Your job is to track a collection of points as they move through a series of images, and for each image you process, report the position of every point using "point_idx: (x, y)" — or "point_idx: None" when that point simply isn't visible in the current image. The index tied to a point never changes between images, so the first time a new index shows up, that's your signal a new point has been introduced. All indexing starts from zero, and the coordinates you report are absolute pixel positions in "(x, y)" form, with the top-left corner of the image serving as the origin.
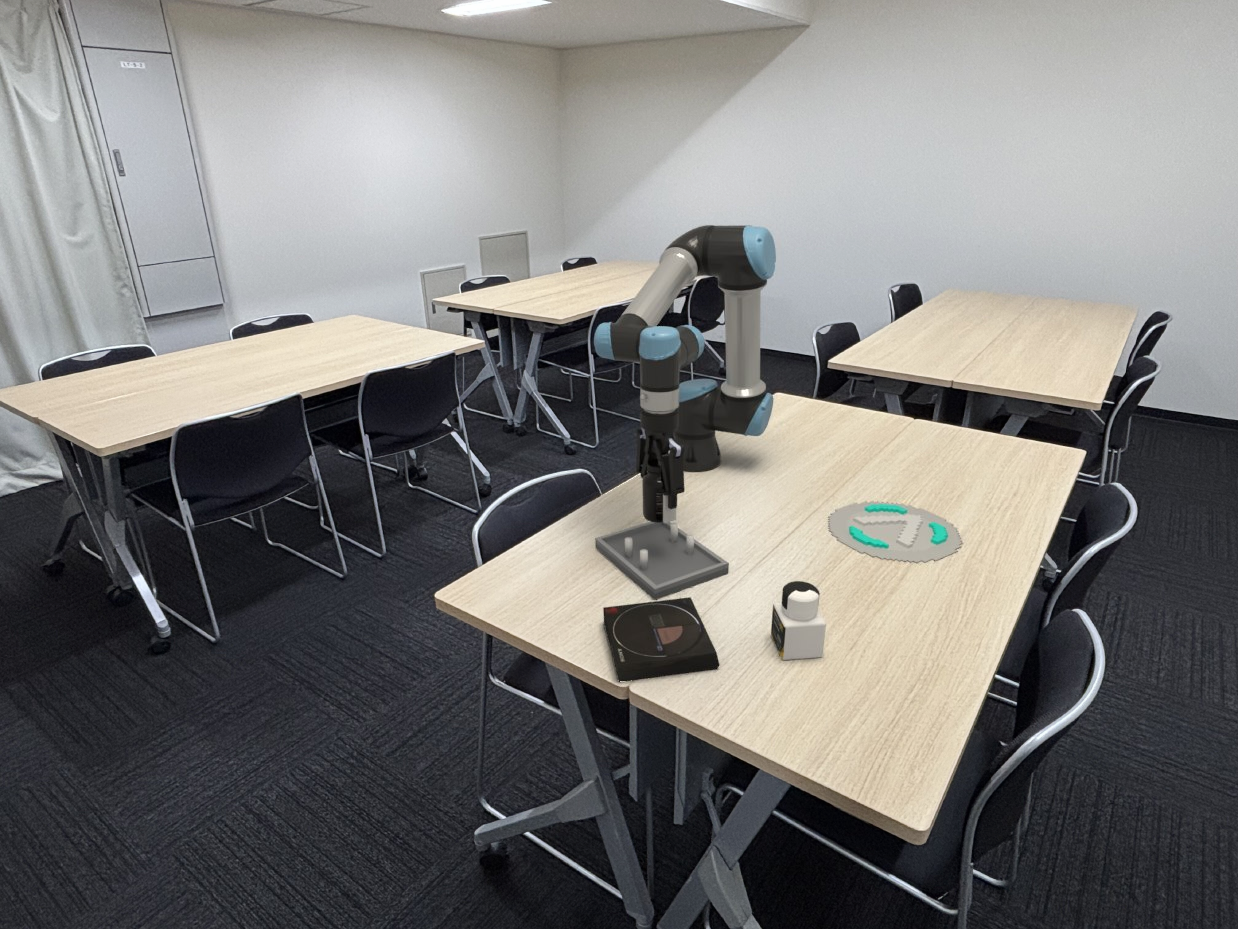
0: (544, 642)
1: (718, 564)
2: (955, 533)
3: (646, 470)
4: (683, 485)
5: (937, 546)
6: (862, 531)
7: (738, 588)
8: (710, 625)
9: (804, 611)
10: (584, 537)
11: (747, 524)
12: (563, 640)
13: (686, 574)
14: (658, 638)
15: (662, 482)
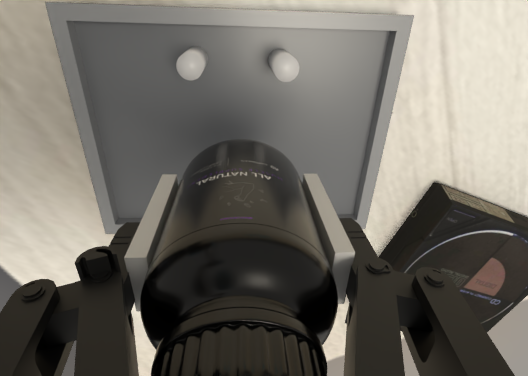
0: (330, 356)
1: (397, 48)
2: None
3: (136, 358)
4: (466, 308)
5: None
6: None
7: (457, 41)
8: (482, 176)
9: None
10: (52, 216)
11: None
12: (343, 341)
13: (353, 133)
14: (480, 294)
15: (322, 344)
